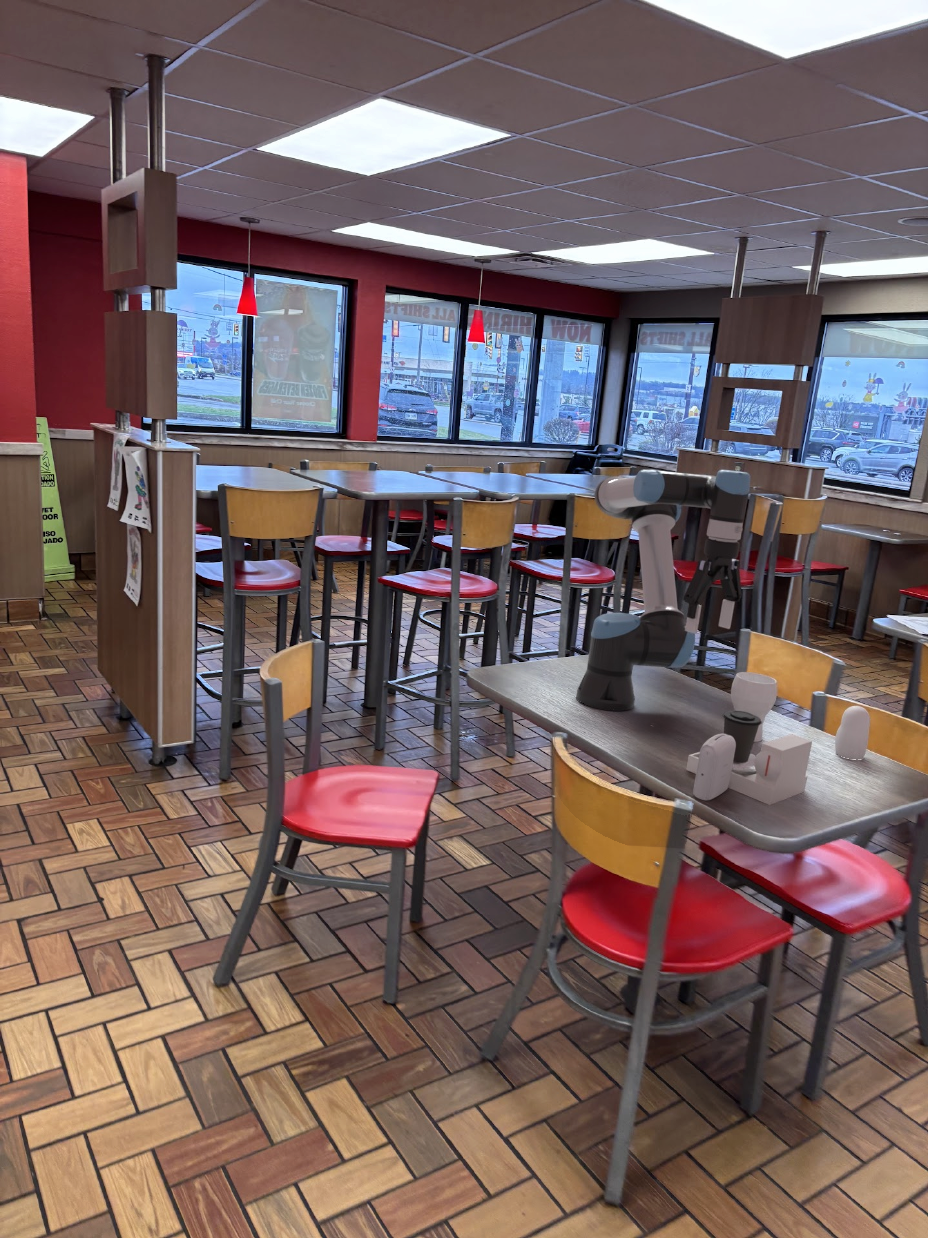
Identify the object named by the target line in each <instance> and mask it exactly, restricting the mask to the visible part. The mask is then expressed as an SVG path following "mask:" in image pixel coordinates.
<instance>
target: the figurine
mask: <svg viewBox="0 0 928 1238" xmlns="http://www.w3.org/2000/svg"><path fill="white" fill-rule="evenodd" d="M870 726H871V716H870V714H869V712H868V711H867V709H866V708H864V707H862V706H860V705H853V706H849V707H848V708H846V709H845V711H844V712H843V713H842V717H841V721H840V726H839V727H838V729H837V731H836V734H835V739H834V740H835V741H834V743H835V744H834V747H835V748H834V749H835V750H834V751H835V754H836V755H837V754H838V755H839V756H838V755H837V756H838V757H840V756H842V757H845V758H849V759H856V760H858V759H862V760H863V759H864V757H865V755H866V752H867V748H868V743H869V735H870V734H869V733H870V728H871V727H870ZM842 757H841V758H842ZM845 758H844V759H845Z"/></svg>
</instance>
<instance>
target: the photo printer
mask: <svg viewBox="0 0 928 1238" xmlns="http://www.w3.org/2000/svg"><path fill="white" fill-rule="evenodd" d="M735 748H736V743H735V740H734V738H733V737H732V736H730V735H727V734H724V733H717V734H715V735H713V736H712V737H710V738H708V739H707V740H706V741H705V742H704V743H703V744H702V746H701V747H700V750H699V752H700V754H699V760H698V766H697V772H696V774H695V780H694V785H693V790H692V795H693V796H694V797H696V798H697V799H699V800H702V801H712V800H713V799H715V798H717V797H718V796H720V795H721V794H723V793H725V792H726V791H727V790H728V789H729V788H728V786H729V782H730V776H731V771H732V765H733V759H734V754H735Z"/></svg>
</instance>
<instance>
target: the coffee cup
mask: <svg viewBox="0 0 928 1238" xmlns="http://www.w3.org/2000/svg"><path fill="white" fill-rule="evenodd" d="M722 717H723V719H724V720H723V721H724V723H723V725H724V726H723V734H727V735H730V736H732V737H733V738H734V740H735V743H736V748H735V754H734V759H733V762H740V763H744V762H747V761H748V759H749V756H750V753H751V752H752V749H753V747H754V740H755V736H756V733H757V730H758V727H759V725H760V724H762V721H761V719H760V718H759V717H757V716H755V715H753V714H751V713H748V712H744V711H735V710H728V711H725V712H724V713H723V714H722ZM751 754H752V753H751Z"/></svg>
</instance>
